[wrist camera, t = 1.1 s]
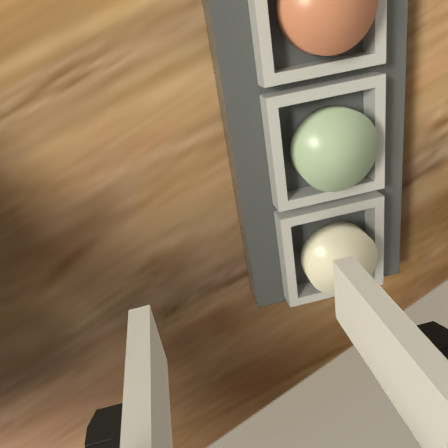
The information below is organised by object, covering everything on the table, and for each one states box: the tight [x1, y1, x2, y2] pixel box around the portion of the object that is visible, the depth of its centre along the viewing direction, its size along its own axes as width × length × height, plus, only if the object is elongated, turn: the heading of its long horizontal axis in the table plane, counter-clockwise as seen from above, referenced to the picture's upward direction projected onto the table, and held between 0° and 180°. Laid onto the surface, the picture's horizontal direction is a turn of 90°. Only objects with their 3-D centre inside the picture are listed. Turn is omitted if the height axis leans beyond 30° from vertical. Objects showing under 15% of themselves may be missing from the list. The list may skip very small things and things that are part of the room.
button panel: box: [202, 0, 408, 307], centre depth 33 cm, size 14×29×5 cm, turn 10°
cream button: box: [301, 221, 378, 295], centre depth 34 cm, size 6×6×2 cm
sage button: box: [290, 105, 378, 192], centre depth 30 cm, size 6×6×2 cm
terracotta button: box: [276, 0, 379, 56], centre depth 26 cm, size 6×6×2 cm
